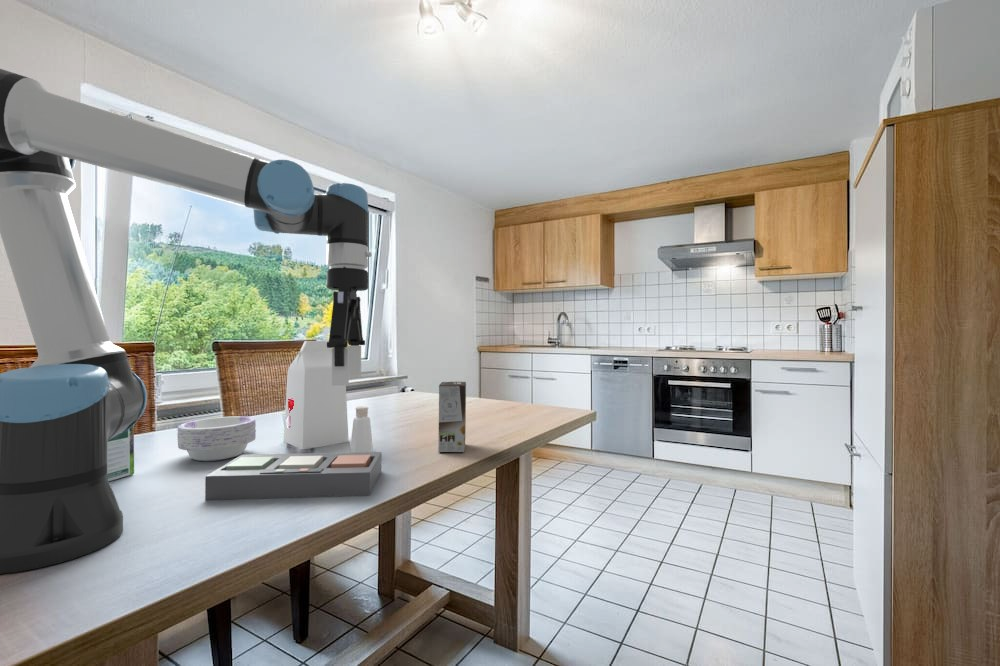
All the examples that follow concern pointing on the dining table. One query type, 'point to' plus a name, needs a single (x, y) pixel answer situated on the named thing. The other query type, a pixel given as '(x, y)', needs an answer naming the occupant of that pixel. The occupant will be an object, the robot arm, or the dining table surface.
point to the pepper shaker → (361, 432)
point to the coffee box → (452, 416)
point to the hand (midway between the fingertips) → (347, 381)
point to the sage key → (251, 463)
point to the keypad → (293, 479)
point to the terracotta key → (351, 461)
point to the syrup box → (121, 455)
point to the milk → (315, 400)
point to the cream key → (301, 462)
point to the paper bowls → (216, 437)
